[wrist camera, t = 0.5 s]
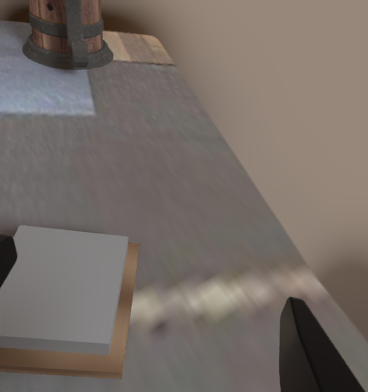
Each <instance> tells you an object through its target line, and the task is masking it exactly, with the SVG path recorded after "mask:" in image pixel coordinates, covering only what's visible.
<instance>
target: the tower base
mask: <svg viewBox="0 0 368 392" xmlns="http://www.w3.org/2000/svg"><path fill="white" fill-rule="evenodd" d="M16 232H17V231H16ZM139 247H140V244H135V243H128V249H127V256H126V261H125V267H124V273H123V279H122V285H121V291H120V296H119V302H118V308H117V314H116V320H115V325H114V331H113V337H112V343H111V349H110V354H109V355H100V354H86V353H72V352H58V351H44V350H29V349H15V348H1V347H0V372H14V373H30V374H46V375H62V376H79V377H95V378H111V379H122V372H123V364H124V357H125V350H126V343H127V335H128V328H129V321H130V313H131V306H132V299H133V292H134V284H135V277H136V270H137V262H138V255H139Z"/></svg>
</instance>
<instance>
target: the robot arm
mask: <svg viewBox="0 0 368 392" xmlns="http://www.w3.org/2000/svg"><path fill="white" fill-rule="evenodd" d="M17 256H18V255H17V250H16V246H15V242H14V239H13V238H12V237H11V236H6V235H0V288H1V287H2V285H3V283H4V281H5V280H6V278H7V276H8V275H9V273H10V271H11V270H12V268H13V266H14V265H15V263H16V261H17ZM279 375H280V387H281V392H365V390H364V389H363V387H362V386H361V384H360V383H359V381H358V380H357V378H356V377H355V375H354V374H353V372H352V371H351V369H350V368H349V366H348V365H347V363H346V362H345V361H344V359H343V358H342V356H341V355H340V353H339V352H338V350H337V349H336V347H335V346H334V344H333V343H332V341H331V340H330V338H329V337H328V335H327V334H326V332H325V331H324V329H323V328H322V326H321V325H320V323H319V322H318V320H317V319H316V317H315V316H314V314H313V313H312V311H311V310H310V309H309V307H308V306H307V304H306V303H305V301H304V300H303V299H300V298H295V297H289V298H288V299H287V301H286V304H285V306H284V308H283V311H282V313H281V317H280V351H279Z"/></svg>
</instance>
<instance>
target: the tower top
mask: <svg viewBox="0 0 368 392" xmlns="http://www.w3.org/2000/svg"><path fill="white" fill-rule="evenodd" d="M13 239H14V242H15V246H16V250H17V255H18V256H17V261H16V263H15V265H14V266H13V268H12V270H11V271H10V273H9V275H8V276H7V278H6V280H5V281H4V283H3V285H2V287H1V288H0V347H1V348H15V349H29V350H44V351H58V352H72V353H86V354H100V355H109V354H110V349H111V343H112V337H113V331H114V325H115V320H116V314H117V308H118V302H119V296H120V291H121V285H122V279H123V273H124V267H125V261H126V256H127V249H128V237H125V236H116V235H107V234H98V233H89V232H80V231H71V230H62V229H53V228H44V227H34V226H25V225H20V226H19V228H18V230H17V232H16V233H15V235H14V237H13Z"/></svg>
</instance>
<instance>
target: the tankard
mask: <svg viewBox="0 0 368 392" xmlns="http://www.w3.org/2000/svg"><path fill="white" fill-rule="evenodd" d="M29 4H30V10H29V21H30V25H31V26H32V34H31V35H30V36H29V37H28V40H27V43H26V44H25V45H24V46H23V49H22V51H23V53H24V55H25V56H26V57H27V58H29V59H31V60H32V61H34V62H37V63H39V64H42V65H45V66H49V67H54V68H60V69H72V70H82V69H93V68H98V67H102V66H104V65H107V64H108V63H110V62H111V61H112V60H113V53H112V52H111V50H110V49H109V48H108V45H107V43H106V42H105V41H104V40H103V38H102V32H103V19H102V17H101V4H100V0H29Z"/></svg>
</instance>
